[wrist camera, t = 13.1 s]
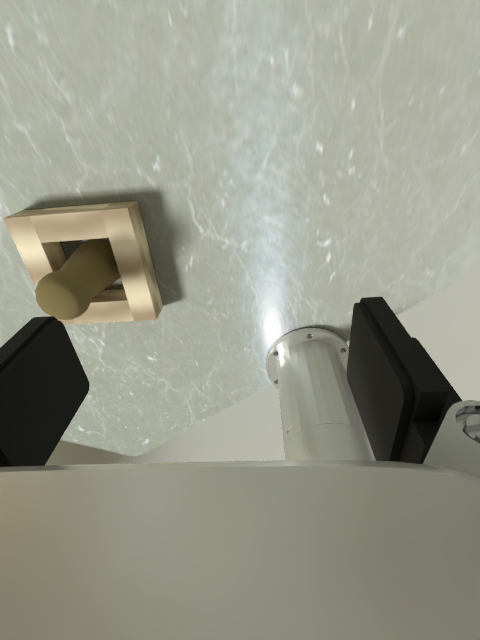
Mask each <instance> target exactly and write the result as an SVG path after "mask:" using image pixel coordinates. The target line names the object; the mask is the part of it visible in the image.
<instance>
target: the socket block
mask: <svg viewBox="0 0 480 640" xmlns="http://www.w3.org/2000/svg"><path fill="white" fill-rule="evenodd" d="M3 219H4V221H5V223H6V225H7V227H8V229H9V231H10V234H11V236H12V238H13V240H14V242H15V244H16V247H17V249H18V251H19V253H20V255H21V257H22V259H23V262H24V264H25V266H26V268H27V270H28V272H29V275H30V277H31V279H32V281H33V283H34V285H35V288H36V287H37V284H38V282H39V281H40V280H41V279H42V278H43V277H44V276H45V275H47V274H49V273H51V272H54V271H59V270H60V269H61V268H62V266H63V265H64V264H65V263H66V261H67V260H66V257H65V254H64V252H63V249H62V247H61V244H60V241H73V240H86V239H99V238H109V240H110V244H111V247H112V250H113V253H114V257H115V260H116V263H117V267H118V270H119V273H120V276H121V280H122V283H123V286H124V289H112V290H102V291H101V292H100V293H98V294H97V295H95V296H94V297H93V298H91V303H90V305H89V307H88V309H87V310H86V312H85V313H83V314H82V315H81V316H79V317H77V318H75V319H71V320H61V319H58V320H59V321H61V322H62V323H63V325H69V324H87V323H104V322H122V321H140V320H157V318H158V316H159V313H160V311H161V309H162V307H163V304H162V300H161V296H160V292H159V288H158V283H157V279H156V275H155V271H154V267H153V263H152V259H151V255H150V250H149V246H148V242H147V238H146V234H145V230H144V226H143V222H142V218H141V213H140V209H139V205H138V201H128V202H116V203H104V204H93V205H81V206H69V207H57V208H45V209H34V210H22V211H20V212H18V213H15V214H13V215H10V216H8V217H6V218H3ZM48 316H49V315H48Z"/></svg>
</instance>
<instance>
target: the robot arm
mask: <svg viewBox="0 0 480 640" xmlns="http://www.w3.org/2000/svg"><path fill="white" fill-rule="evenodd" d="M266 369H267V374H268V377H269V379H270V380H271V382H272V383H273V384H274V385H275V386H276V387H277V388H278V389H279V398H280V408H281V419H282V430H283V440H284V450H285V461H284V460H283V461H231V462H230V461H228V462H180V463H179V462H178V463H177V462H176V463H134V464H133V463H132V464H91V465H57V466H56V465H55V466H45V464H46V462H47V460H48V459H49V457H50V455H51V454H52V452H53V450H54V449H55V447H56V445H57V444H58V442H59V440H60V439H61V437H62V435H63V434H64V432H65V430H66V429H67V427H68V425H69V424H70V422H71V420H72V418H73V417H74V415H75V413H76V412H77V410H78V408H79V407H80V405H81V403H82V402H83V400H84V398H85V397H86V395H87V393H88V391H89V381H88V379H87V376H86V374H85V372H84V370H83V367H82V365H81V363H80V361H79V358H78V356H77V354H76V352H75V349H74V347H73V345H72V343H71V340H70V338H69V336H68V333H67V331H66V329H65V327H64V325H63V323H62V322H61V321H59V320H58V319H57V318H55V317H53V316H48V317H34V318H33V319H31V320H30V321H29V322H28V323H27V324H26V325H25V326H24V327H23V328H21V329H20V330H19V331H18V332H17V333H16V334H15V335H14V336H13V337H12V338H11V339H10V340H8V341H7V342H6V343H5V344H4V345H3V346H2V347H1V348H0V640H480V401H473V400H467V401H462V400H461V398H460V397H459V396H458V394H457V393H456V391H455V390H454V389H453V387H452V386H451V385H450V383H449V382H448V380H447V379H446V378H445V376H444V375H443V374H442V372H441V371H440V369H439V368H438V367H437V365H436V364H435V363H434V361H433V360H432V359H431V357H430V356H429V355H428V353H427V352H426V350H425V349H424V348H423V346H422V345H421V344H420V343H419V341H418V340H417V339H416V338H413V337H412V338H411V337H410V335H409V334H408V333H407V331H406V330H405V328H404V327H403V325H402V324H401V323H400V321H399V320H398V319H397V317H396V316H395V314H394V313H393V311H392V310H391V309H390V307H389V306H388V304H387V303H386V301H385V300H384V299H383V298H382V297H369V298H362V299H361V300H360V303H355V304H354V308H353V317H352V326H351V335H350V345H349V347H348V345H347V344H346V342H345V341H344V340H343V339H342V338H341V337H340V336H338V335H337V334H335V333H333V332H331V331H328V330H325V329H319V328H304V329H299V330H296V331H293V332H290V333H288V334H286V335H284V336H283V337H281V338H280V339H279V340H277V341H276V342H275V344H274V345H273V346H272V347H271V349H270V351H269V352H268V355H267V359H266Z"/></svg>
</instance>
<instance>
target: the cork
mask: <svg viewBox="0 0 480 640" xmlns="http://www.w3.org/2000/svg"><path fill="white" fill-rule="evenodd" d="M119 277H120V273H119V270H118V267H117V263H116V260H115V257H114V253H113V250H112V247H111V245H110V244H108V243H107V242H105V241H102V240H98V239H90V240H87V241H84V242H82V243H81V244H80V245H79V247H78V248H77V249H76V250H75V251H74V253H73V254H72V255H71V256H70V258H69V259H68V260H67V261H66V263H65V264H64V265H63V266H62V268H61V269H60V270H59V271H54V272H51V273H49V274H47V275H45V276H44V277H43V278H42V279H41V280H40V281H39V282H38V284H37V287H36V290H35V293H36V300H37V303H38V305H39V306H40V307H41V309H42V310H43V311H44V312H45V313H47V314H48V315H49V316H53V317H55V318H57V319H61V320H71V319H75V318H77V317H79V316H81V315H82V314H83V313H85V312H86V310H87V309H88V307H89V305H90V303H91V298H93V297H94V296H95V295H97V294H98V293H100V292H101V291H102V290H104V289H105V288H106V287H108V286H109V285H111V284H112V283H113V282H115V281H116V280H117V279H118V278H119Z"/></svg>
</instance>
